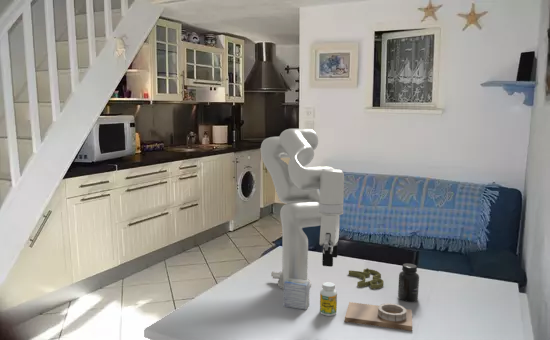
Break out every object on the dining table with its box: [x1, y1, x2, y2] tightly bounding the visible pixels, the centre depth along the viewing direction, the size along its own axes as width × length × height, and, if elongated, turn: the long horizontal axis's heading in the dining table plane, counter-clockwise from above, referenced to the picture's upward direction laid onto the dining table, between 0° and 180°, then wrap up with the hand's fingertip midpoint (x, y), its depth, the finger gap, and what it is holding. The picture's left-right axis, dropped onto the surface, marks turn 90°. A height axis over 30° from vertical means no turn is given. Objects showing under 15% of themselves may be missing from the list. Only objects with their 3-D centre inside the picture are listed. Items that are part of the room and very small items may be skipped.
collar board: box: [344, 301, 413, 332], centre depth 142 cm, size 20×12×4 cm, turn 74°
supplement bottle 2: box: [397, 263, 420, 303], centre depth 158 cm, size 7×7×12 cm
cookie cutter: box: [348, 267, 385, 290], centre depth 176 cm, size 18×12×2 cm, turn 7°
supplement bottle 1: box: [319, 281, 338, 317], centre depth 145 cm, size 5×5×10 cm
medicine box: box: [283, 278, 311, 310], centre depth 150 cm, size 8×4×9 cm, turn 71°
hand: (330, 261), depth 144 cm, fingers open, 9 cm apart
